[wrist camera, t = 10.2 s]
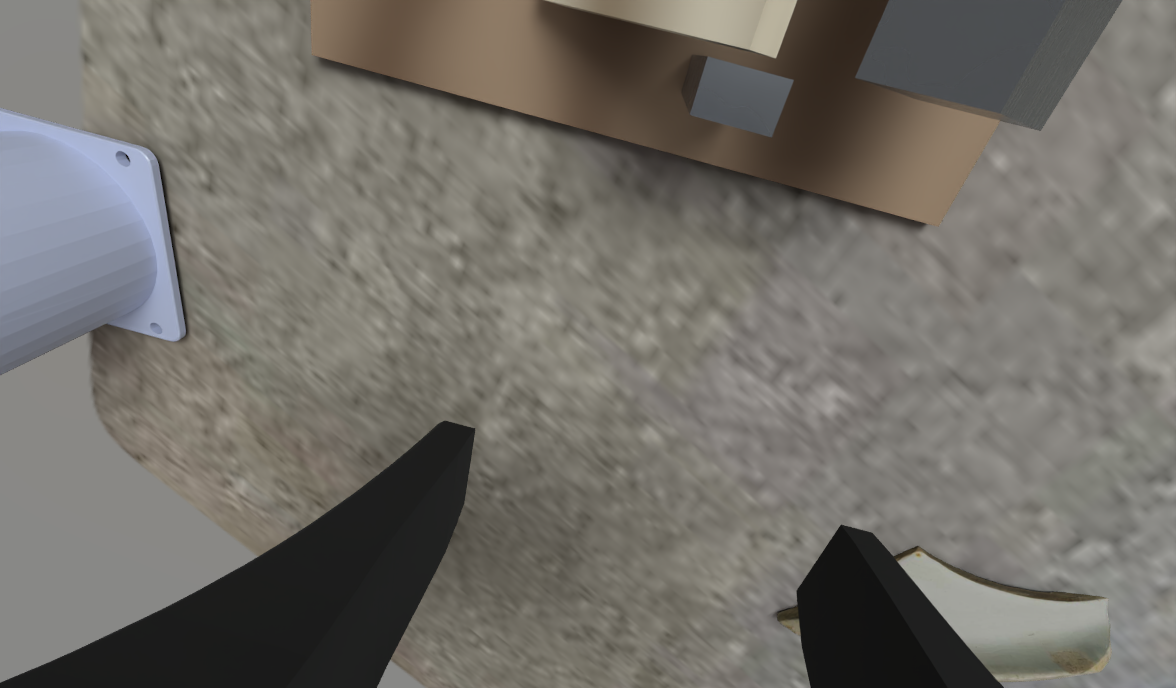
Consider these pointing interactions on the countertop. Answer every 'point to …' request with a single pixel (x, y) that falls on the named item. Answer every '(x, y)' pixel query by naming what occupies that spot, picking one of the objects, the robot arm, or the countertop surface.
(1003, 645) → the ceramic fragment
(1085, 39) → the trapdoor
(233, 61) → the countertop surface
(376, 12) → the frame
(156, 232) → the robot arm
